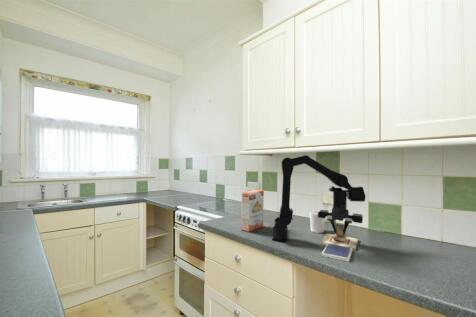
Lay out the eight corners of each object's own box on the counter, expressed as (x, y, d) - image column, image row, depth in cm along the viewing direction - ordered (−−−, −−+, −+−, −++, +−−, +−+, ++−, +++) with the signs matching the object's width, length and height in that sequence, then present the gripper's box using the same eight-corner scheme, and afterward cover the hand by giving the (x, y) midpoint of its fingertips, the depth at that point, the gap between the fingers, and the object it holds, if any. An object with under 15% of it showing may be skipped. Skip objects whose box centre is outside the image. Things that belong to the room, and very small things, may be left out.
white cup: (306, 229, 127) (306, 211, 127) (318, 228, 130) (318, 210, 130) (316, 234, 120) (316, 214, 120) (328, 232, 122) (328, 213, 122)
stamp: (333, 240, 107) (333, 225, 107) (334, 237, 111) (334, 222, 111) (344, 242, 104) (344, 227, 104) (346, 238, 108) (346, 224, 108)
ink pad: (321, 256, 93) (321, 252, 93) (327, 246, 103) (327, 243, 103) (348, 261, 88) (348, 257, 88) (352, 251, 98) (352, 247, 98)
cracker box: (249, 232, 122) (249, 193, 122) (240, 230, 126) (240, 192, 126) (264, 226, 133) (264, 190, 133) (255, 224, 137) (255, 189, 137)
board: (320, 244, 105) (320, 241, 105) (327, 235, 117) (327, 233, 117) (355, 250, 98) (355, 248, 98) (357, 240, 110) (357, 238, 110)
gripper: (315, 201, 106) (315, 235, 106) (361, 206, 96) (361, 243, 96) (320, 198, 115) (320, 229, 115) (362, 202, 105) (362, 236, 105)
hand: (339, 234), depth 108 cm, fingers closed on stamp, 3 cm apart
